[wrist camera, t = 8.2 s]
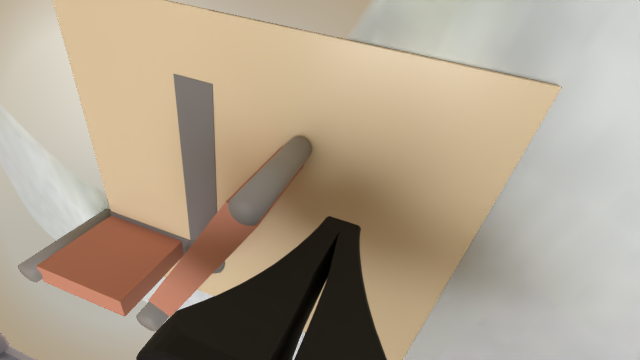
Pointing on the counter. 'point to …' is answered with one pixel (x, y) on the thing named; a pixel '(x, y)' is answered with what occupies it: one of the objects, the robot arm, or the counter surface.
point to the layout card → (306, 121)
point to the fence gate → (232, 224)
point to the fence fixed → (108, 265)
